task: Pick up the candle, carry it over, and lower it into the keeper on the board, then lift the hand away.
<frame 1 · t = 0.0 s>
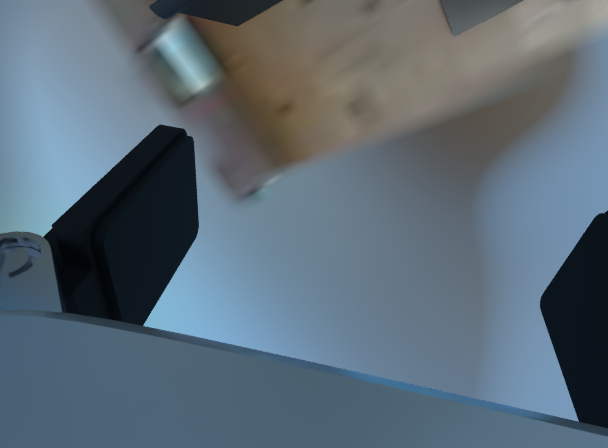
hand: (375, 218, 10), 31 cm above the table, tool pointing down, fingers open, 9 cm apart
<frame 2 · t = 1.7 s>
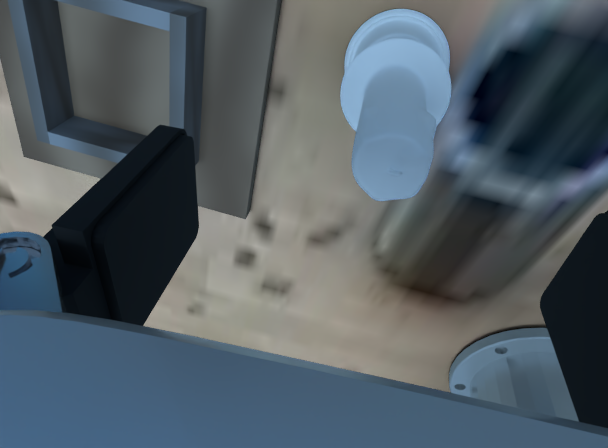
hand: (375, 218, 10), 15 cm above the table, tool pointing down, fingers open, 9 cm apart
keeper board: (135, 67, 25), on the table
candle: (395, 63, 22), on the table
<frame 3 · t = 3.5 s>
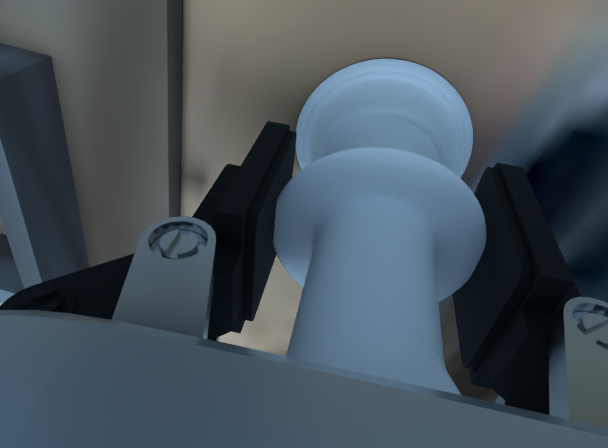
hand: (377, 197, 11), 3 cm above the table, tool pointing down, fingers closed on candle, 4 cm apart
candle: (380, 142, 13), on the table, touching gripper
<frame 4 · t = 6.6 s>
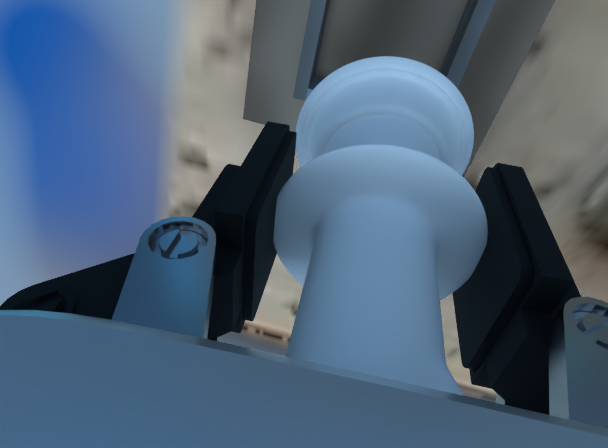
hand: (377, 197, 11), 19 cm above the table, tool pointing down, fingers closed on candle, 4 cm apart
keeper board: (389, 25, 26), on the table
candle: (381, 141, 13), point 16 cm above the table, touching gripper
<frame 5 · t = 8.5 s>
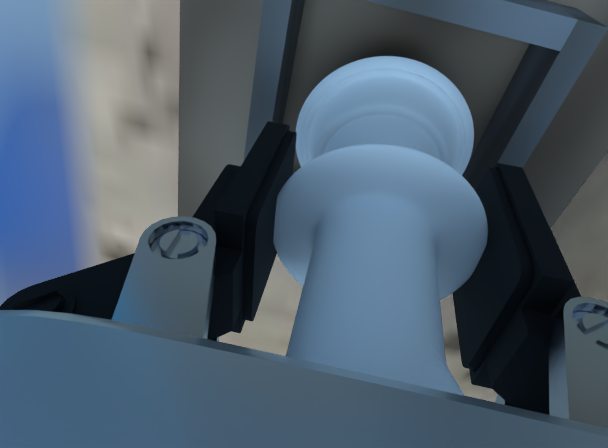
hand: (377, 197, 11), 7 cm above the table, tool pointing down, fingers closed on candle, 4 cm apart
keeper board: (387, 98, 16), on the table
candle: (381, 140, 13), point 4 cm above the table, touching gripper
when the fingers open (5 cm above the table, at t = 10.0 s): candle drops 1 cm, resting on keeper board.
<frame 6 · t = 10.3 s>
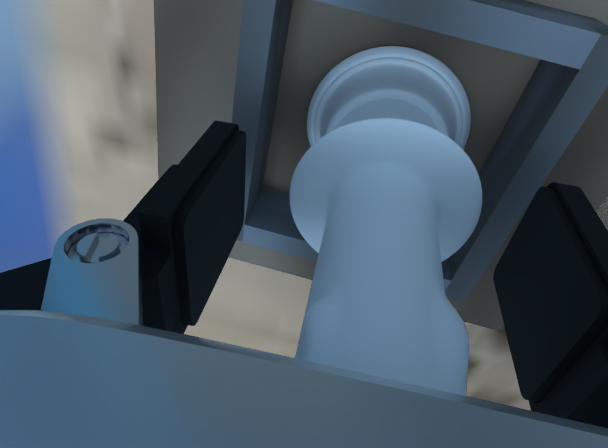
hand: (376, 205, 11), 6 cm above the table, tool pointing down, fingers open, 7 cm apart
keeper board: (383, 114, 15), on the table
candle: (385, 125, 14), point 1 cm above the table, touching keeper board
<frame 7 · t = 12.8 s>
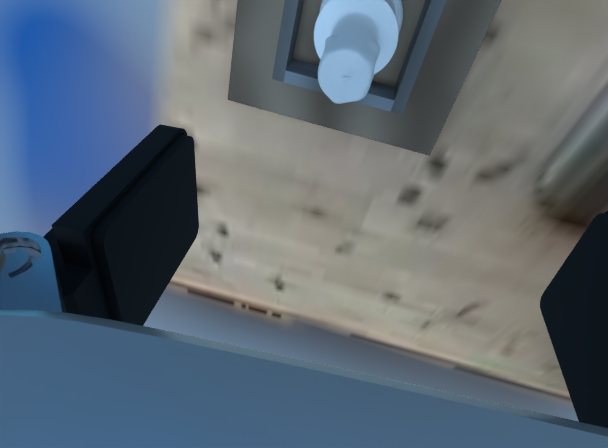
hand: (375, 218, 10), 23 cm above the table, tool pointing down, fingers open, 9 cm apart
keeper board: (359, 13, 28), on the table
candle: (360, 17, 28), point 1 cm above the table, touching keeper board
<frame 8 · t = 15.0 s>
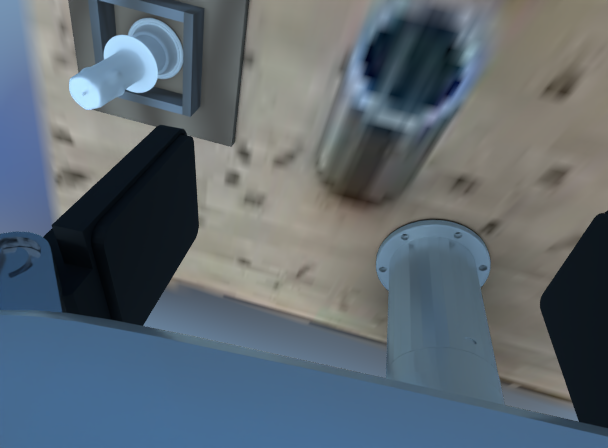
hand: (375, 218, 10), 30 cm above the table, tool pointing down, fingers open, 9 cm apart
keeper board: (160, 45, 40), on the table
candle: (157, 48, 39), point 1 cm above the table, touching keeper board
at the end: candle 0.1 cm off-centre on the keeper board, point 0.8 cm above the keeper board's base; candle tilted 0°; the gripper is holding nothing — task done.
